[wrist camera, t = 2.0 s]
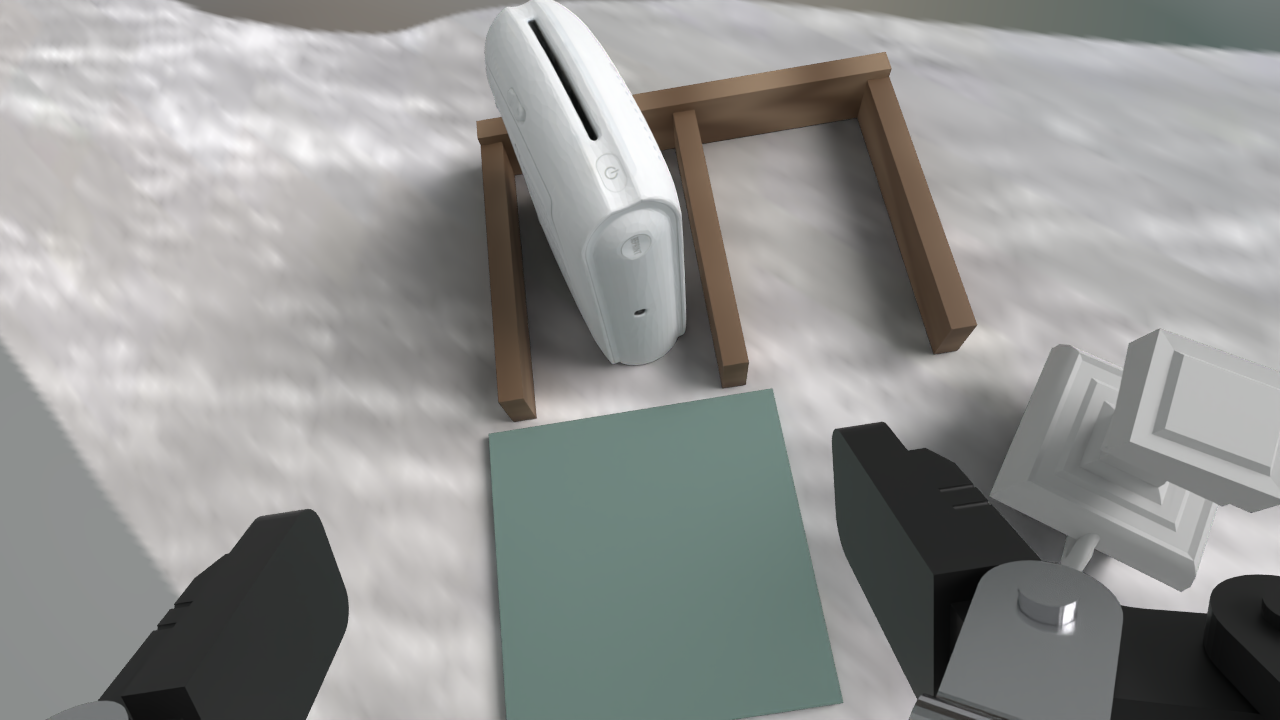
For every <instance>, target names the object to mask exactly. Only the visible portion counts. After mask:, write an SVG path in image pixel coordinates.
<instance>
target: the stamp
mask: <svg viewBox="0 0 1280 720" xmlns="http://www.w3.org/2000/svg"><path fill="white" fill-rule="evenodd" d="M989 497H991V498H993V499H995V500H997V501H999V502H1001V503H1003V504H1005V505H1007V506H1009V507H1011V508H1013V509H1015V510H1017V511H1019V512H1021V513H1024V514H1026V515H1028V516H1030V517H1032V518H1034V519H1036V520H1038V521H1040V522H1042V523H1044V524H1046V525H1048V526H1050V527H1052V528H1054V529H1056V530H1058V531H1060V532H1062V533H1064V534H1066V535H1067V538H1066V542H1065V547H1064V551H1063V555H1062V558H1061V563H1060V565H1064V566H1068V567H1070V568H1073V569H1076V570H1078V571H1081V572H1082V571H1083V569H1084V568H1085V566H1086V565H1087V563H1088V562H1089V560H1090V559H1091V557H1092V555H1093V552H1094V549H1096V550H1098V551H1100V552H1102V553H1104V554H1106V555H1108V556H1110V557H1112V558H1114V559H1116V560H1118V561H1120V562H1122V563H1124V564H1126V565H1128V566H1130V567H1132V568H1134V569H1136V570H1138V571H1140V572H1142V573H1144V574H1146V575H1148V576H1150V577H1152V578H1154V579H1156V580H1158V581H1160V582H1162V583H1164V584H1166V585H1168V586H1170V587H1172V588H1174V589H1176V590H1178V591H1180V592H1182V591H1183V590H1185V589H1187V588H1189V587H1191V585H1192V583H1193V581H1194V579H1195V577H1196V574H1197V571H1198V568H1199V565H1200V561H1201V558H1202V555H1203V552H1204V549H1205V546H1206V543H1207V539H1208V536H1209V533H1210V530H1211V527H1212V524H1213V521H1214V517H1215V514H1216V511H1217V508H1218V505H1220V506H1225V505H1228V504H1231V505H1234V506H1236V507H1238V508H1241V509H1243V510H1245V511H1247V512H1250V513H1253V512H1257V511H1260V510H1263V509H1267V508H1270V507H1273V506H1277V505H1280V372H1279V371H1277V370H1274V369H1271V368H1268V367H1266V366H1263V365H1260V364H1257V363H1255V362H1252V361H1249V360H1246V359H1244V358H1241V357H1238V356H1235V355H1233V354H1230V353H1227V352H1224V351H1222V350H1219V349H1216V348H1213V347H1210V346H1208V345H1205V344H1202V343H1199V342H1197V341H1194V340H1191V339H1188V338H1186V337H1183V336H1180V335H1177V334H1175V333H1172V332H1169V331H1166V330H1164V329H1161V328H1160V329H1158V330H1156V331H1153V332H1151V333H1149V334H1147V335H1145V336H1143V337H1141V338H1139V339H1137V340H1135V341H1133V342H1131V343H1129V346H1128V351H1127V355H1126V360H1125V365H1124V368H1122V367H1120V366H1117V365H1115V364H1113V363H1110V362H1108V361H1106V360H1103V359H1101V358H1099V357H1096V356H1094V355H1092V354H1089V353H1087V352H1085V351H1082V350H1080V349H1078V348H1076V347H1073V346H1071V345H1062V344H1060V345H1058V346H1056V347H1054V348H1052V349H1051V351H1050V354H1049V356H1048V358H1047V361H1046V363H1045V365H1044V368H1043V370H1042V373H1041V375H1040V377H1039V380H1038V382H1037V384H1036V387H1035V389H1034V391H1033V394H1032V396H1031V399H1030V401H1029V403H1028V406H1027V408H1026V410H1025V413H1024V415H1023V417H1022V420H1021V422H1020V424H1019V427H1018V429H1017V432H1016V434H1015V436H1014V439H1013V441H1012V443H1011V446H1010V448H1009V450H1008V453H1007V455H1006V458H1005V460H1004V462H1003V465H1002V467H1001V469H1000V472H999V474H998V476H997V479H996V481H995V484H994V486H993V488H992V491H991V493H990V495H989Z"/></svg>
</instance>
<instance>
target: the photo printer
mask: <svg viewBox="0 0 1280 720" xmlns="http://www.w3.org/2000/svg"><path fill="white" fill-rule="evenodd" d="M484 53H485V64H486V74H487V78H488V82H489V85H490V88H491V90H492V93H493V96H494V99H495V104H496V107H497V109H498V110H499V112H500V114H501V116H502V119H503V122H504V124H505V127H506V130H507V132H508V135H509V138H510V140H511V143H512V146H513V148H514V151H515V154H516V156H517V159H518V162H519V164H520V167H521V170H522V173H523V175H524V178H525V181H526V184H527V187H528V190H529V192H530V195H531V198H532V201H533V204H534V207H535V210H536V212H537V215H538V220H539V223H540V224H541V226H542V228H543V231H544V233H545V236H546V238H547V241H548V243H549V245H550V248H551V250H552V252H553V254H554V257H555V259H556V261H557V264H558V266H559V268H560V270H561V272H562V274H563V277H564V279H565V281H566V283H567V285H568V288H569V290H570V292H571V294H572V296H573V298H574V300H575V302H576V304H577V306H578V308H579V310H580V312H581V314H582V316H583V318H584V321H585V322H586V324H587V326H588V328H589V330H590V332H591V334H592V336H593V338H594V340H595V341H596V343H597V344H598V346H599V348H600V349H601V350H602V352H603V353H604V355H605V356H606V357H607V358H608V360H609V361H610V362H611V363H612V364H615V363H618V362H621V363H623V364H626V365H642V364H646V363H650V362H653V361H655V360H657V359H659V358H661V357H662V356H664V355H665V354H666V353H667V352H669V350H670V349H671V348H672V347H673V346H674V344H675V343H676V340H677V337H678V336H680V335H683V334H684V333H685V330H686V297H685V270H684V248H683V230H682V214H681V209H680V204H679V200H678V196H677V192H676V189H675V185H674V182H673V180H672V177H671V174H670V171H669V169H668V167H667V165H666V162H665V160H664V158H663V156H662V153H661V151H660V149H659V147H658V145H657V143H656V141H655V138H654V136H653V134H652V132H651V130H650V128H649V126H648V124H647V122H646V120H645V118H644V116H643V114H642V113H641V111H640V109H639V107H638V105H637V103H636V102H635V100H634V98H633V96H632V94H631V92H630V91H629V89H628V87H627V85H626V84H625V82H624V80H623V79H622V77H621V75H620V74H619V72H618V70H617V69H616V67H615V65H614V64H613V62H612V61H611V59H610V57H609V56H608V54H607V53H606V51H605V50H604V48H603V47H602V45H601V44H600V43H599V41H598V40H597V39H596V37H595V36H594V35H593V33H592V32H591V31H590V30H589V28H588V27H587V26H586V25H585V24H584V23H583V22H582V21H581V20H580V19H579V18H578V17H577V16H576V15H575V14H573V13H572V12H571V11H570V10H568V9H567V8H566V7H564V6H563V5H561V4H559V3H557V2H556V1H554V0H530V1H528V2H527V3H525V4H523V5H521V6H517V7H506V8H505V9H504V10H502V11H501V12H500V13H499V14H498V16H497V17H496V18H495V20H494V21H493V23H492V24H491V26H490V29H489V31H488V33H487V37H486V42H485V52H484Z"/></svg>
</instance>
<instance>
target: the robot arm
mask: <svg viewBox="0 0 1280 720" xmlns="http://www.w3.org/2000/svg"><path fill="white" fill-rule="evenodd" d="M832 453H833V471H834V488H835V506H836V520H837V526H838V532H839V536H840V541H841V544H842V547H843V550H844V553H845V556H846V558H847V560H848V562H849V564H850V566H851V568H852V570H853V572H854V574H855V576H856V578H857V580H858V582H859V584H860V586H861V588H862V590H863V592H864V594H865V596H866V598H867V600H868V602H869V604H870V606H871V608H872V610H873V612H874V614H875V616H876V618H877V620H878V622H879V624H880V626H881V628H882V630H883V632H884V634H885V636H886V638H887V640H888V642H889V644H890V646H891V648H892V650H893V652H894V654H895V656H896V658H897V660H898V662H899V664H900V666H901V668H902V670H903V672H904V674H905V676H906V678H907V680H908V682H909V684H910V686H911V688H912V690H913V692H914V694H915V696H916V698H917V702H916V703H915V705H914V708H913V710H912V712H911V715H910V717H909V720H1280V576H1274V575H1244V576H1238V577H1233V578H1230V579H1227V580H1225V581H1223V582H1221V583H1220V584H1218V585H1217V586H1216V587H1215V588H1214V589H1213V591H1212V593H1211V596H1210V601H1209V607H1208V613H1207V614H1205V613H1192V612H1179V611H1166V610H1153V609H1142V608H1133V607H1127V606H1122V605H1120V603H1119V602H1118V600H1117V598H1116V597H1115V596H1114V595H1113V593H1112V592H1111V591H1110V590H1109V589H1108V588H1107V587H1105V586H1104V585H1103V584H1102V583H1100V582H1099V581H1097V580H1096V579H1094V578H1093V577H1091V576H1089V575H1087V574H1085V573H1083V572H1081V571H1078V570H1076V569H1073V568H1070V567H1068V566H1064V565H1060V564H1056V563H1051V562H1045V561H1041V559H1040V558H1039V557H1038V556H1037V555H1036V554H1035V553H1034V552H1033V550H1032V549H1031V548H1030V547H1029V546H1028V545H1027V544H1026V543H1025V541H1024V540H1023V539H1022V538H1021V537H1020V536H1019V535H1018V534H1017V533H1016V531H1015V530H1014V529H1013V528H1012V527H1011V526H1010V525H1009V524H1008V522H1007V521H1006V520H1005V519H1004V518H1003V517H1002V516H1001V515H1000V513H999V512H998V511H997V510H996V509H995V508H994V507H993V506H992V505H989V504H988V500H987V499H986V498H985V497H984V495H983V494H982V493H981V492H980V491H979V490H978V489H977V488H976V487H975V488H974V487H973V483H972V482H971V481H970V480H969V479H968V478H967V476H966V475H965V474H964V473H963V472H962V471H961V470H960V469H959V467H958V466H957V465H956V464H955V463H953V462H952V461H950V460H948V459H946V458H944V457H942V456H940V455H938V454H936V453H934V452H932V451H930V450H928V449H926V448H922V449H916V450H909V451H908V450H907V449H906V448H905V446H904V445H903V444H902V443H901V441H900V440H899V439H898V438H897V436H896V435H895V434H894V433H893V431H892V430H891V429H890V428H889V426H888V425H887V424H886V423H884V422H877V423H871V424H865V425H858V426H852V427H845V428H839V429H835V430H834V431H833V435H832ZM174 605H175V608H174V609H170V610H169V611H168V613H167V614H166V615H165V617H164V618H163V619H162V620H161V621H160V623H159V624H158V625H157V626H158V630H156V631H153V632H152V633H151V634H150V635H149V637H148V638H147V639H146V640H145V642H144V643H143V644H142V645H141V647H140V648H139V649H138V651H137V652H136V653H135V654H134V656H133V657H132V658H131V659H130V661H129V662H128V663H127V664H126V666H125V667H124V668H123V669H122V671H121V672H120V673H119V675H118V676H117V677H116V679H115V680H114V681H113V682H112V683H111V685H110V686H109V687H108V689H107V690H106V691H105V692H104V694H103V695H102V696H101V697H100V699H99V700H98V701H96V702H90V703H86V704H82V705H78V706H75V707H73V708H70V709H67V710H65V711H62V712H60V713H58V714H56V715H54V716H52V717H50V718H48V719H46V720H306V718H307V716H308V714H309V712H310V709H311V707H312V705H313V703H314V701H315V698H316V696H317V694H318V692H319V689H320V687H321V685H322V683H323V681H324V678H325V676H326V674H327V672H328V669H329V667H330V665H331V663H332V660H333V658H334V656H335V654H336V652H337V649H338V647H339V645H340V643H341V640H342V638H343V636H344V634H345V631H346V628H347V623H348V615H349V605H348V596H347V592H346V588H345V585H344V583H343V580H342V577H341V574H340V572H339V569H338V566H337V563H336V561H335V558H334V555H333V552H332V550H331V547H330V544H329V541H328V538H327V536H326V533H325V530H324V527H323V525H322V522H321V520H320V518H319V516H318V515H317V514H316V512H314V511H313V510H311V509H305V510H298V511H292V512H285V513H279V514H272V515H266V516H260V517H258V518H257V519H255V521H254V522H253V523H252V524H251V525H250V527H249V528H248V529H247V531H246V532H245V533H244V535H243V536H242V537H241V539H240V540H239V541H238V543H237V544H236V545H235V547H234V548H233V549H232V550H231V552H230V553H229V554H225V555H224V556H223V557H221V558H220V559H219V560H217V561H216V562H215V563H214V564H212V565H211V566H210V567H208V568H207V569H206V570H205V571H203V572H202V573H201V574H199V575H198V576H197V577H196V578H194V580H193V581H192V582H191V583H190V585H189V586H188V587H187V588H186V590H185V591H184V592H183V594H182V595H181V596H180V597H179V599H178V600H177V601H176V602H175V604H174Z"/></svg>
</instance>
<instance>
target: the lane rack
mask: <svg viewBox="0 0 1280 720" xmlns="http://www.w3.org/2000/svg"><path fill="white" fill-rule="evenodd" d="M891 69H892V68H891V66H890V63H889V60H888V57H887V54H886V52H882V53H876V54H871V55H865V56H859V57H853V58H847V59H841V60H835V61H829V62H823V63H817V64H811V65H806V66H800V67H794V68H788V69H782V70H776V71H770V72H764V73H758V74H752V75H747V76H741V77H735V78H729V79H723V80H717V81H711V82H705V83H699V84H693V85H688V86H682V87H676V88H670V89H664V90H658V91H652V92H646V93H640V94H634V95H632V96H633V98H634V100H635V102H636V103H637V105H638V107H639V109H640V111H641V113H642V114H643V116H644V118H645V120H646V122H647V124H648V126H649V128H650V130H651V132H652V134H653V136H654V138H655V141H656V143H657V145H658V147H659V149H660V151H661V150H667V149H673V148H675V150H676V156H677V161H678V166H679V171H680V176H681V181H682V186H683V191H684V196H685V201H686V206H687V211H688V216H689V221H690V227H691V232H692V237H693V242H694V247H695V252H696V257H697V262H698V267H699V272H700V277H701V282H702V287H703V293H704V298H705V303H706V308H707V313H708V318H709V323H710V328H711V333H712V338H713V343H714V348H715V353H716V358H717V364H718V369H719V374H720V379H721V384H722V388H727V387H734V386H740V385H746V379H747V372H748V364H749V360H748V356H747V351H746V347H745V342H744V337H743V333H742V328H741V323H740V319H739V314H738V309H737V305H736V300H735V295H734V291H733V286H732V282H731V277H730V272H729V268H728V263H727V258H726V254H725V249H724V244H723V240H722V235H721V230H720V226H719V221H718V217H717V212H716V207H715V203H714V198H713V193H712V189H711V184H710V179H709V175H708V170H707V165H706V161H705V156H704V152H703V147H702V144H703V143H709V142H715V141H721V140H727V139H733V138H739V137H745V136H751V135H757V134H763V133H769V132H775V131H780V130H786V129H792V128H798V127H804V126H810V125H816V124H822V123H828V122H834V121H840V120H846V119H852V118H857V119H858V122H859V125H860V128H861V131H862V134H863V137H864V140H865V143H866V146H867V149H868V153H869V156H870V159H871V162H872V165H873V168H874V171H875V174H876V177H877V180H878V183H879V187H880V190H881V193H882V196H883V199H884V202H885V205H886V208H887V211H888V214H889V217H890V221H891V224H892V227H893V230H894V233H895V236H896V239H897V242H898V245H899V248H900V251H901V255H902V258H903V261H904V264H905V267H906V270H907V273H908V276H909V279H910V282H911V285H912V289H913V292H914V295H915V298H916V301H917V304H918V307H919V310H920V313H921V316H922V319H923V323H924V326H925V329H926V332H927V335H928V338H929V341H930V344H931V347H932V350H933V353H934V354H939V353H945V352H951V351H957V350H958V349H959V348H960V347H961V345H962V344H963V343H964V341H965V340H966V339H967V338H968V336H969V335H970V334H971V332H972V331H973V330H974V329H975V327H976V326H977V323H976V320H975V317H974V315H973V312H972V309H971V306H970V303H969V300H968V298H967V295H966V292H965V289H964V286H963V284H962V281H961V278H960V275H959V272H958V269H957V267H956V264H955V261H954V258H953V255H952V253H951V250H950V247H949V244H948V241H947V238H946V236H945V233H944V230H943V227H942V224H941V222H940V219H939V216H938V213H937V210H936V207H935V205H934V202H933V199H932V196H931V193H930V191H929V188H928V185H927V182H926V179H925V176H924V174H923V171H922V168H921V165H920V162H919V160H918V157H917V154H916V151H915V148H914V145H913V143H912V140H911V137H910V134H909V131H908V129H907V126H906V123H905V120H904V117H903V114H902V112H901V109H900V106H899V103H898V100H897V98H896V95H895V92H894V89H893V86H892V83H891V81H890V78H889V75H890V72H891ZM476 122H477V136H478V140H479V143H480V145H481V157H482V172H483V186H484V201H485V215H486V230H487V244H488V259H489V273H490V287H491V302H492V316H493V331H494V345H495V360H496V374H497V389H498V402H499V404H500V405H501V406H502V408H503V409H504V410H505V412H506V413H507V414H508V415H509V417H510V418H511V419H512V421H513V422H516V421H522V420H528V419H535V418H537V417H536V406H535V395H534V384H533V373H532V362H531V351H530V340H529V328H528V317H527V306H526V295H525V284H524V273H523V262H522V251H521V240H520V228H519V217H518V206H517V195H516V184H515V175H518V174H523V173H522V170H521V167H520V164H519V162H518V159H517V156H516V154H515V151H514V148H513V146H512V143H511V140H510V138H509V135H508V132H507V130H506V127H505V124H504V122H503V119H502V117H499V118H493V119H487V120H481V121H476Z"/></svg>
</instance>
